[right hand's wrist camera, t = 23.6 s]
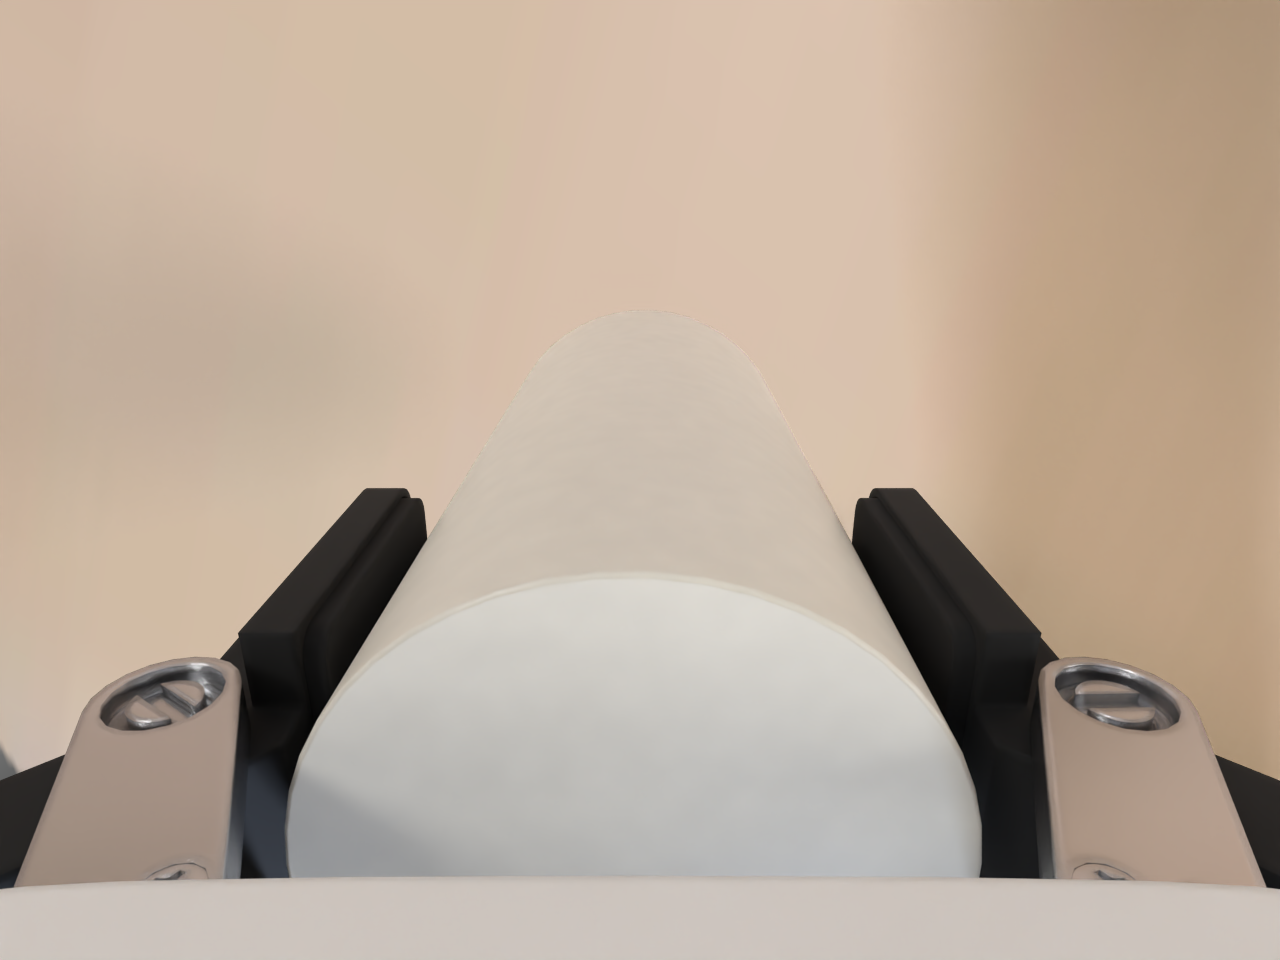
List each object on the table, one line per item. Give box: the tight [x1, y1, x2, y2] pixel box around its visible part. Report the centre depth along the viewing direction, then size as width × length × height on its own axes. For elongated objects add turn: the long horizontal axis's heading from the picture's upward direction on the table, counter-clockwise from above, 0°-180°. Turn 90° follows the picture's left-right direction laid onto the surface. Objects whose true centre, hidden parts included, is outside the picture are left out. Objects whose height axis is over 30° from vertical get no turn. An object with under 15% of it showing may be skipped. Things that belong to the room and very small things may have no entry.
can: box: [285, 310, 982, 878], centre depth 12 cm, size 6×6×12 cm
